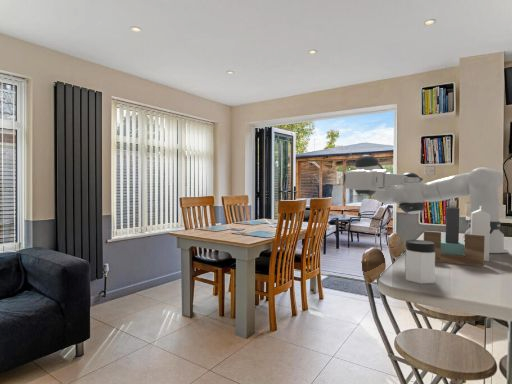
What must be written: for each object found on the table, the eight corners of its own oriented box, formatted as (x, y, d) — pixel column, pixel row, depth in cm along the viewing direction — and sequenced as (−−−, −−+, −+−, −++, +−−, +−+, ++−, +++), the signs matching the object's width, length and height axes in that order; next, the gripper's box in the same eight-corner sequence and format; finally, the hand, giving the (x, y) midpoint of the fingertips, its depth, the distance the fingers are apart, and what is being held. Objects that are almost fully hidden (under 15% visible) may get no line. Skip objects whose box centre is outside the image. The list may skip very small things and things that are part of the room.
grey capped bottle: (445, 241, 133) (446, 200, 133) (457, 242, 131) (459, 200, 131) (445, 242, 130) (446, 200, 129) (458, 243, 127) (459, 201, 127)
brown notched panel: (423, 258, 131) (424, 230, 131) (482, 265, 121) (483, 235, 121) (423, 259, 129) (423, 231, 129) (483, 266, 119) (484, 235, 119)
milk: (471, 259, 131) (472, 206, 131) (469, 256, 137) (470, 205, 136) (489, 261, 128) (490, 206, 128) (487, 258, 134) (488, 205, 133)
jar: (403, 274, 106) (404, 238, 106) (431, 277, 103) (432, 240, 103) (405, 282, 98) (406, 242, 98) (435, 285, 95) (437, 245, 95)
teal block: (440, 256, 136) (440, 240, 136) (462, 259, 132) (462, 242, 132) (440, 260, 129) (440, 242, 129) (463, 262, 125) (464, 245, 125)
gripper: (385, 187, 143) (420, 188, 136) (377, 187, 125) (417, 188, 118) (385, 173, 143) (420, 173, 136) (378, 171, 125) (418, 171, 118)
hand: (419, 180), depth 127 cm, fingers open, 8 cm apart
